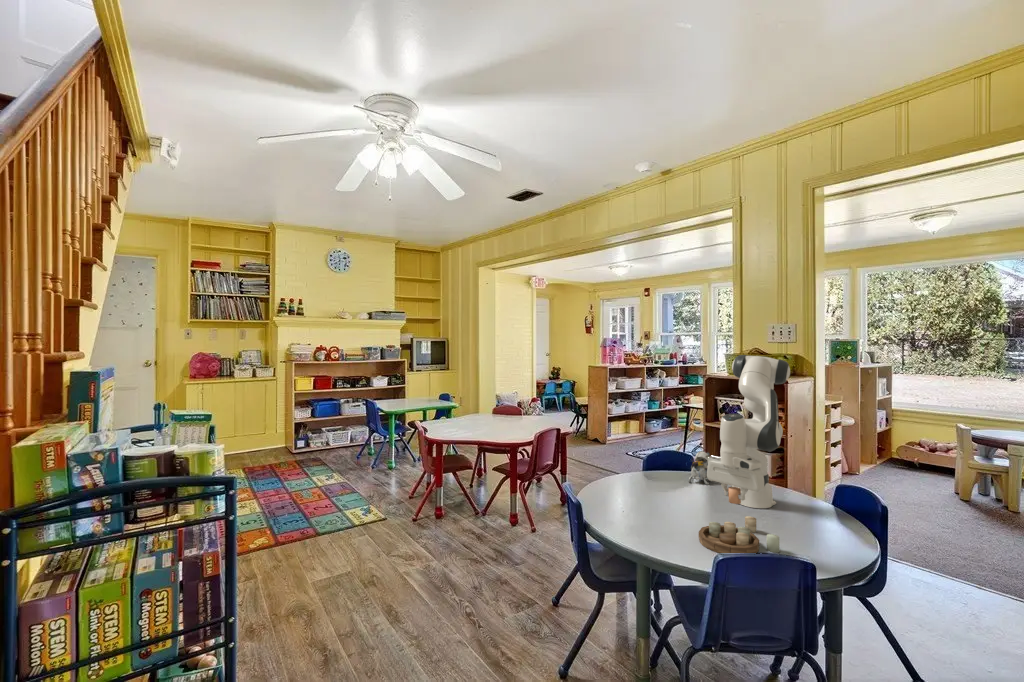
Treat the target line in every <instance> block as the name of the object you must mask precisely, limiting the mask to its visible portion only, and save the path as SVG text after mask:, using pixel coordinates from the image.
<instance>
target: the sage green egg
mask: <svg viewBox="0 0 1024 682" xmlns="http://www.w3.org/2000/svg"><path fill="white" fill-rule="evenodd" d="M780 550H781V549H780V536H779V535H777V534H774V533H773V534H772V533H769V534H768V533H767V534H766V551H768V552H770V553H774V554H779V553H780V552H781V551H780Z"/></svg>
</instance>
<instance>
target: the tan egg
mask: <svg viewBox="0 0 1024 682" xmlns="http://www.w3.org/2000/svg"><path fill="white" fill-rule="evenodd" d="M744 527H746V528H748V529H750V533H753V534H756V533H757V518H756V517H754V516H749V515H747V516H744Z"/></svg>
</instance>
